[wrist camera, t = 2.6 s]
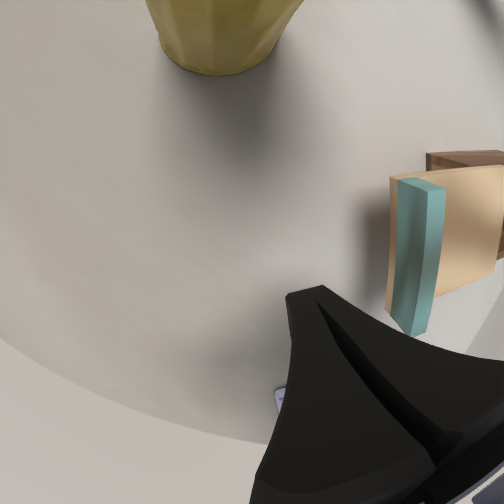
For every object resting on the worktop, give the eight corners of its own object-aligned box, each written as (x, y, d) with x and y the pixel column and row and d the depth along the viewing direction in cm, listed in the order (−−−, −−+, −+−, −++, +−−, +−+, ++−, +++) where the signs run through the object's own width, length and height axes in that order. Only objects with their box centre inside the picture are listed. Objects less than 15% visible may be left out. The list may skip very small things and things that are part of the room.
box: (491, 228, 19) (523, 247, 15) (423, 250, 18) (457, 277, 15) (497, 150, 16) (533, 161, 12) (426, 153, 15) (470, 165, 12)
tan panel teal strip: (487, 267, 15) (512, 286, 12) (384, 308, 14) (409, 339, 12) (500, 164, 12) (532, 175, 9) (389, 176, 11) (427, 191, 9)
